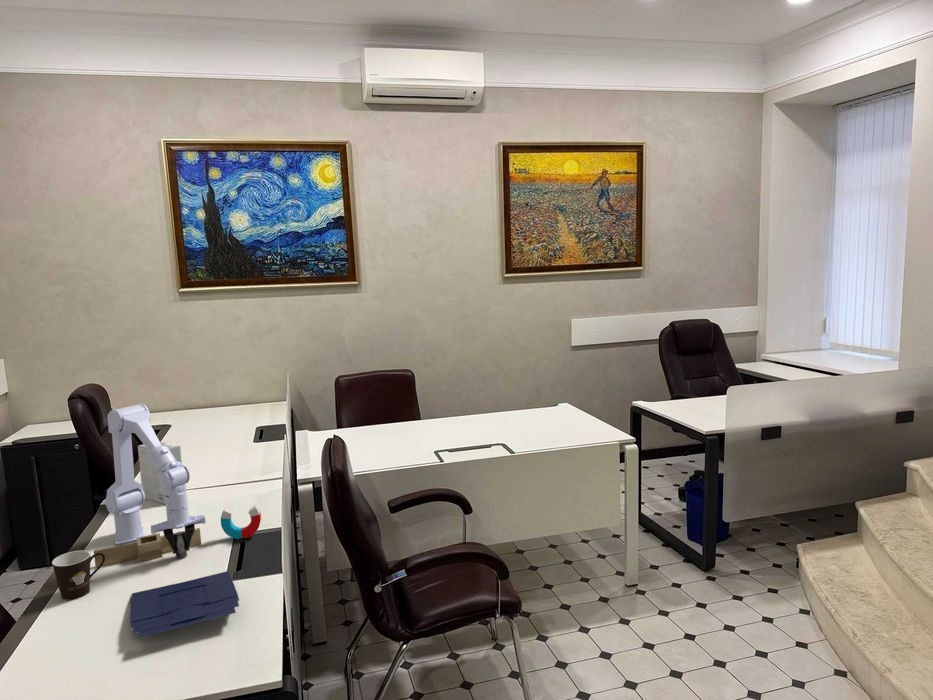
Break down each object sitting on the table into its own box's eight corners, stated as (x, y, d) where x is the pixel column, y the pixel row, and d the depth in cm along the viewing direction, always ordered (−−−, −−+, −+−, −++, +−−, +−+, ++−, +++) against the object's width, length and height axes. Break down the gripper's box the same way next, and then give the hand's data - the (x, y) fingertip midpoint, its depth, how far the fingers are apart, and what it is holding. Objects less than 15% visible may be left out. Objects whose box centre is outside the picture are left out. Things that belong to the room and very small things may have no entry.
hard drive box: (185, 498, 233) (181, 446, 230) (166, 505, 226) (161, 451, 223) (161, 490, 241) (156, 440, 238) (141, 497, 235) (136, 445, 232)
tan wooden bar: (95, 562, 185) (94, 546, 184) (199, 540, 198) (198, 524, 198) (95, 571, 180) (93, 555, 179) (202, 547, 193) (201, 532, 192)
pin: (175, 555, 188) (173, 532, 187) (186, 552, 190) (184, 530, 189) (176, 559, 186) (174, 536, 185) (187, 556, 187) (185, 534, 186)
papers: (130, 652, 141) (128, 636, 141) (131, 603, 167) (130, 590, 167) (245, 621, 152) (243, 606, 152) (229, 580, 178) (228, 567, 178)
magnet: (222, 541, 197) (219, 510, 196) (223, 537, 200) (221, 507, 198) (261, 537, 200) (259, 507, 198) (262, 533, 202) (260, 503, 201)
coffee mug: (54, 605, 162) (50, 569, 161) (58, 590, 170) (53, 555, 168) (106, 594, 168) (102, 558, 166) (107, 579, 175) (104, 545, 174)
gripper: (150, 517, 178) (154, 562, 180) (205, 506, 185) (209, 550, 187) (148, 508, 184) (153, 552, 187) (202, 498, 191) (205, 541, 194)
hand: (180, 550), depth 187 cm, fingers closed on pin, 3 cm apart
